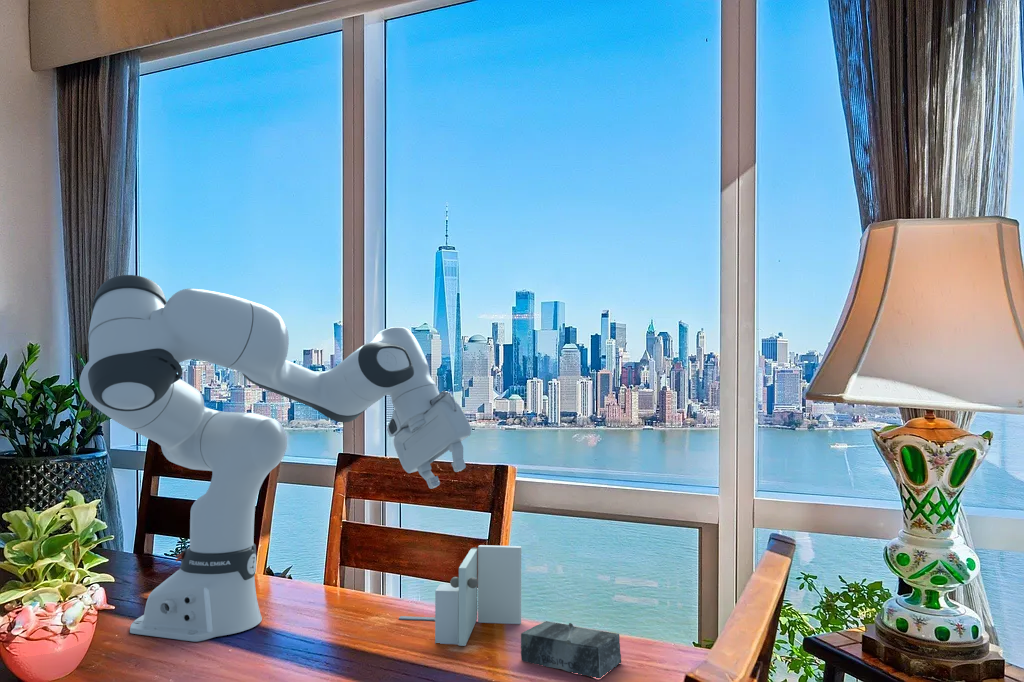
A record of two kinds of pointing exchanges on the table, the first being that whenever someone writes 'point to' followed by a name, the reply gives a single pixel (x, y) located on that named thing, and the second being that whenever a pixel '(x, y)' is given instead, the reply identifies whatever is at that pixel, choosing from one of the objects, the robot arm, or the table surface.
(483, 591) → the wall
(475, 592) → the door
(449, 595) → the light grey block
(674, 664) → the table surface
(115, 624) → the table surface
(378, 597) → the table surface
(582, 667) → the stone block
